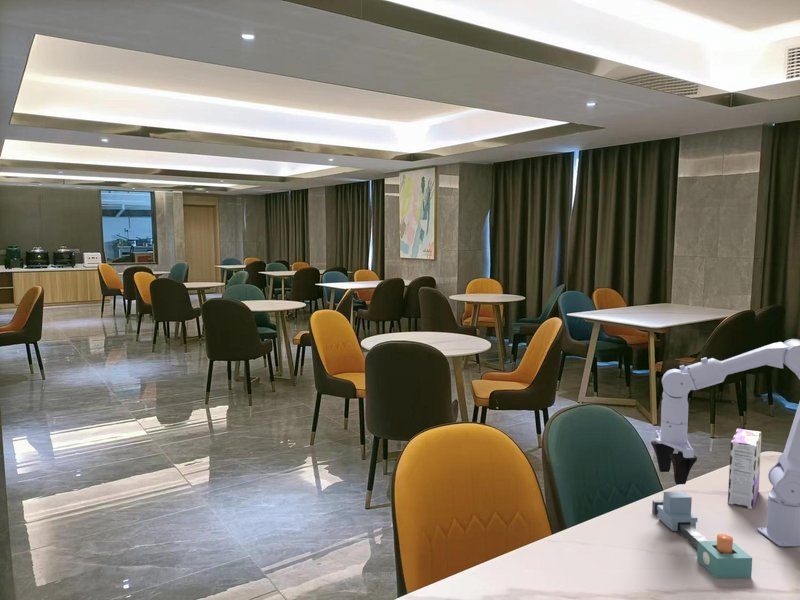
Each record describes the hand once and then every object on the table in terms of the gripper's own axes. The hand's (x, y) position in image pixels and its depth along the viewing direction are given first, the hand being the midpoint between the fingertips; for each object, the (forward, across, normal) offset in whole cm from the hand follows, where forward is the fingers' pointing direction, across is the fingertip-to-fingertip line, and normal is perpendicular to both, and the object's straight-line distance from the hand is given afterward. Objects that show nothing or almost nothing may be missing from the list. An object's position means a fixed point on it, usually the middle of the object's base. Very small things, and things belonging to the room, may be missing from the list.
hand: (672, 477), depth 142 cm
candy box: (+11, -12, +25) cm, 30 cm away
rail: (+10, +7, 0) cm, 12 cm away
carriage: (+10, +3, 0) cm, 11 cm away
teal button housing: (+10, +22, 0) cm, 24 cm away
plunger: (+8, +22, 0) cm, 23 cm away
